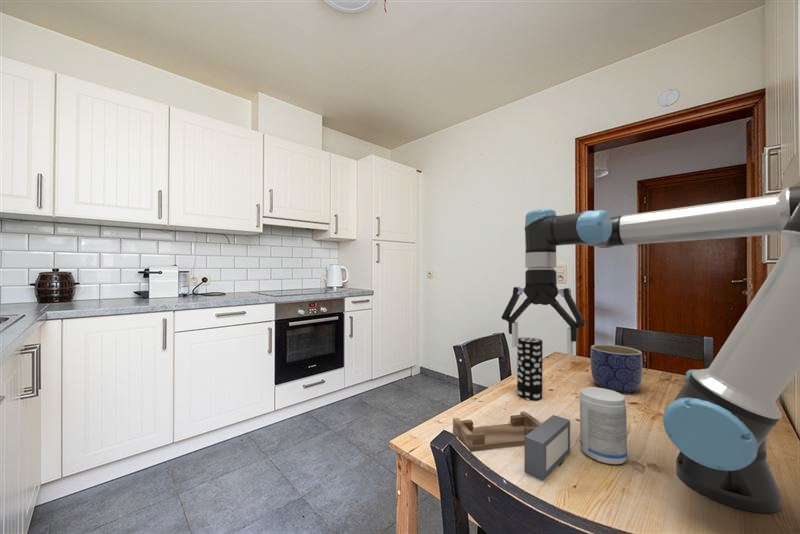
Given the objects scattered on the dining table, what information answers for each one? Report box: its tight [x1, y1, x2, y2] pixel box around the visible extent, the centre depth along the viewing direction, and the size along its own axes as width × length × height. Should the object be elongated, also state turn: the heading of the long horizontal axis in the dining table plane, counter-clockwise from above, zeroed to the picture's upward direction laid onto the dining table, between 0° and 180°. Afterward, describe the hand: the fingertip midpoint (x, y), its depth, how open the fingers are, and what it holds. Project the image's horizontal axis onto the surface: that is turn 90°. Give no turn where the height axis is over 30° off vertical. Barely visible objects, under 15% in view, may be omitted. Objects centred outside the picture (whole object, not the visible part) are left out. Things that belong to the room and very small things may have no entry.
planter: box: [590, 344, 643, 394], centre depth 123 cm, size 17×17×15 cm
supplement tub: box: [579, 386, 628, 465], centre depth 77 cm, size 10×10×15 cm
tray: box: [452, 411, 543, 453], centre depth 84 cm, size 9×22×4 cm, turn 103°
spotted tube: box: [516, 337, 544, 402], centre depth 114 cm, size 8×8×20 cm
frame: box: [523, 414, 571, 482], centre depth 74 cm, size 4×16×8 cm, turn 133°
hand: (541, 350), depth 83 cm, fingers open, 13 cm apart
